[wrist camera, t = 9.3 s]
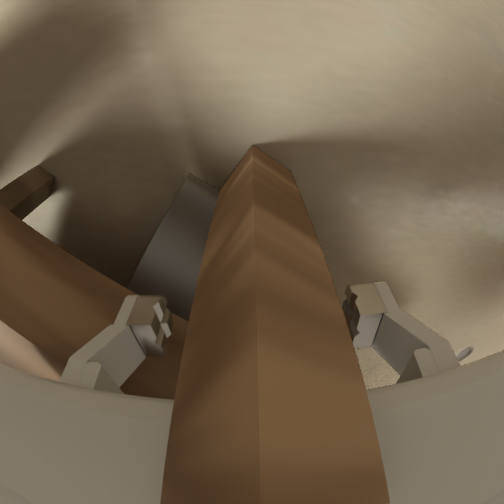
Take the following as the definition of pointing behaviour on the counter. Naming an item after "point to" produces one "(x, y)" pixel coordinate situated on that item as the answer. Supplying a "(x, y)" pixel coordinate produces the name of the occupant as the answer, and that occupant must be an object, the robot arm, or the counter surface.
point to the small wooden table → (62, 300)
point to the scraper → (259, 350)
